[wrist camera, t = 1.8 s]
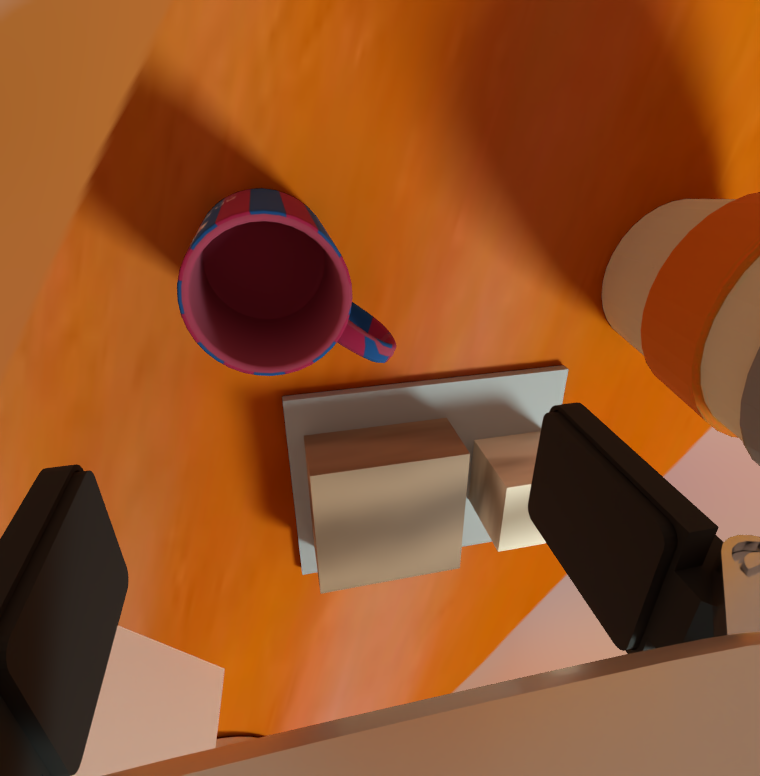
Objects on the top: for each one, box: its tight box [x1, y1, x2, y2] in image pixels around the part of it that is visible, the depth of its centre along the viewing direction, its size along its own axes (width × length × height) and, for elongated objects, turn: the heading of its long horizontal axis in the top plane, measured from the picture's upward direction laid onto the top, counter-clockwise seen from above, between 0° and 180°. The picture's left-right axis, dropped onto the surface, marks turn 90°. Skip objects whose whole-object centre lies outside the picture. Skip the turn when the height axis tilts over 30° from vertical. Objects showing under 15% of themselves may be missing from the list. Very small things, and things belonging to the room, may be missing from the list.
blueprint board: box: [282, 365, 568, 575], centre depth 34 cm, size 14×18×1 cm
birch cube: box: [469, 431, 546, 552], centre depth 33 cm, size 5×5×5 cm
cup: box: [177, 188, 396, 376], centre depth 24 cm, size 7×10×7 cm
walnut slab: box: [304, 418, 470, 593], centre depth 32 cm, size 9×9×4 cm
